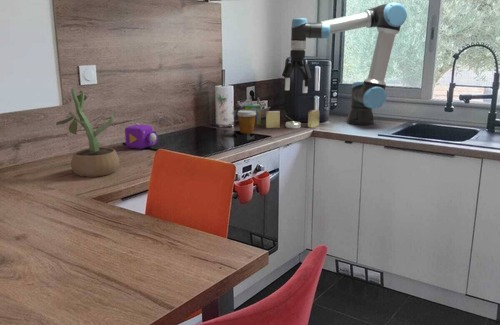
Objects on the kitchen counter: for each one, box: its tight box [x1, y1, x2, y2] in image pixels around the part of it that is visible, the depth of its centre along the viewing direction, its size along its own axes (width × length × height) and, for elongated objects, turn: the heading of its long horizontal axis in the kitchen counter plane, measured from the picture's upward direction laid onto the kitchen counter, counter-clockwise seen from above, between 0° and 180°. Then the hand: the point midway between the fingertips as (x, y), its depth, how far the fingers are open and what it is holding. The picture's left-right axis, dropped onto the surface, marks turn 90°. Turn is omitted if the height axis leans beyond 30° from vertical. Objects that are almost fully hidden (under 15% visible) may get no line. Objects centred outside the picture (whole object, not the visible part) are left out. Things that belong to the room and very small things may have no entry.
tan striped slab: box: [265, 110, 281, 129], centre depth 249 cm, size 7×2×9 cm, turn 96°
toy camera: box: [124, 122, 158, 150], centre depth 211 cm, size 11×14×10 cm
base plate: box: [285, 120, 302, 129], centre depth 251 cm, size 26×16×4 cm, turn 96°
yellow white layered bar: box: [307, 109, 321, 128], centre depth 252 cm, size 7×2×9 cm, turn 137°
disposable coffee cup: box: [236, 109, 256, 135], centre depth 237 cm, size 10×10×12 cm
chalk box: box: [243, 98, 262, 126], centre depth 262 cm, size 9×9×15 cm
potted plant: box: [55, 88, 120, 178], centre depth 172 cm, size 22×18×30 cm
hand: (295, 91), depth 247 cm, fingers open, 13 cm apart
